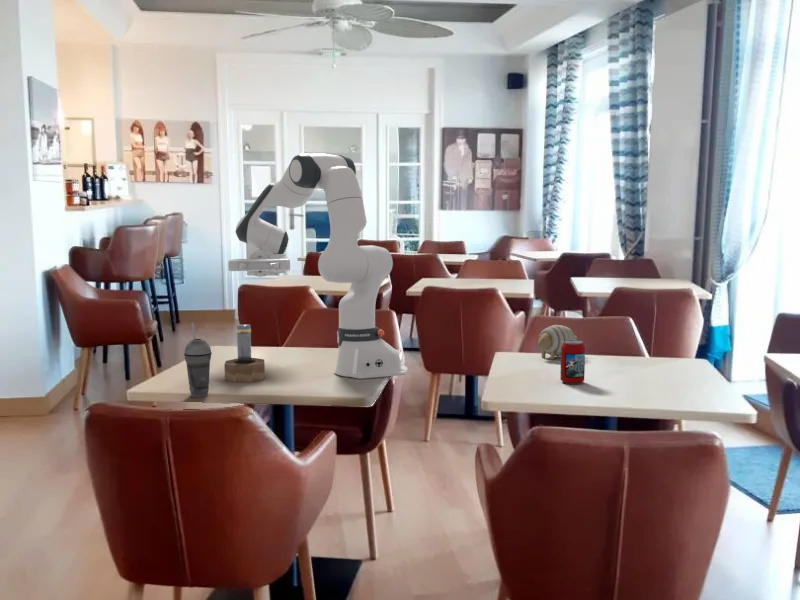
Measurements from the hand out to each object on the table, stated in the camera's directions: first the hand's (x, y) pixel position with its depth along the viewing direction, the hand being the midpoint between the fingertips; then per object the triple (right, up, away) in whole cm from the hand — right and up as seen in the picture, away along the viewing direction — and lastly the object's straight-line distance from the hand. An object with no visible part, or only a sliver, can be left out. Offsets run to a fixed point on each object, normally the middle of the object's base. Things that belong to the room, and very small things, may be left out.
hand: (258, 266), depth 246 cm
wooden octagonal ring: (-1, -34, -18) cm, 39 cm away
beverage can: (+95, -35, -26) cm, 105 cm away
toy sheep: (+99, -30, +11) cm, 104 cm away
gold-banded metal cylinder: (-1, -34, -18) cm, 39 cm away
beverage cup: (-9, -37, -39) cm, 54 cm away
